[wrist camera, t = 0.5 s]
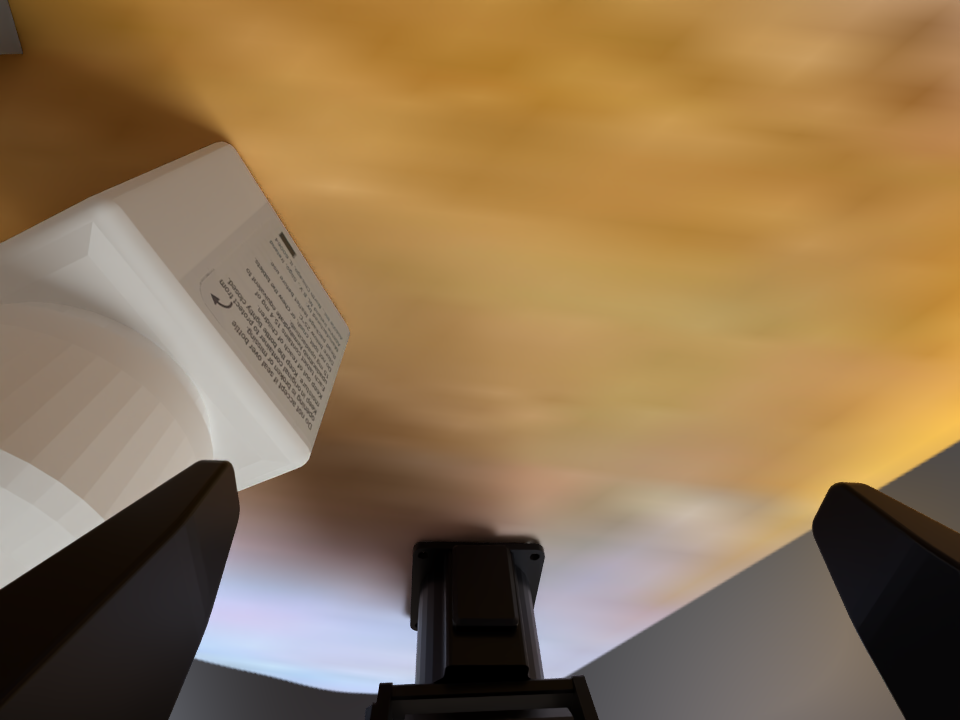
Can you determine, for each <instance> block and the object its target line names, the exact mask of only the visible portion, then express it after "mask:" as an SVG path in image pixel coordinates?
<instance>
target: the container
mask: <svg viewBox="0 0 960 720" xmlns="http://www.w3.org/2000/svg"><path fill="white" fill-rule="evenodd" d="M349 336H350V331H349V328H348V326H347V324H346V323H345V321H344V319H343V318H342V316H341V315H340V313H339V312H338V310H337V308H336V307H335V305H334V304H333V302H332V301H331V299H330V297H329V296H328V294H327V293H326V291H325V289H324V288H323V286H322V285H321V283H320V282H319V280H318V278H317V277H316V275H315V274H314V272H313V271H312V269H311V267H310V266H309V264H308V263H307V261H306V260H305V258H304V256H303V255H302V253H301V252H300V250H299V248H298V247H297V245H296V244H295V242H294V241H293V239H292V237H291V236H290V234H289V233H288V231H287V230H286V228H285V226H284V225H283V223H282V222H281V220H280V219H279V217H278V215H277V214H276V212H275V211H274V209H273V207H272V206H271V204H270V203H269V201H268V200H267V198H266V196H265V195H264V193H263V192H262V190H261V189H260V187H259V185H258V184H257V182H256V181H255V179H254V178H253V176H252V174H251V173H250V171H249V170H248V168H247V167H246V165H245V163H244V162H243V160H242V159H241V157H240V155H239V154H238V152H237V151H236V149H235V148H234V147H233V146H232V145H231V144H228V143H226V142H223V141H222V142H216V143H213V144H211V145H209V146H207V147H204V148H202V149H200V150H197V151H195V152H193V153H190V154H188V155H186V156H183V157H181V158H179V159H176V160H174V161H172V162H170V163H167V164H165V165H163V166H160V167H158V168H156V169H153V170H151V171H149V172H146V173H144V174H142V175H140V176H137V177H135V178H133V179H130V180H128V181H126V182H123V183H121V184H119V185H116V186H114V187H112V188H109V189H107V190H105V191H103V192H100V193H98V194H96V195H93V196H91V197H89V198H87V199H85V200H83V201H81V202H79V203H77V204H75V205H73V206H71V207H70V208H68V209H66V210H64V211H62V212H60V213H58V214H56V215H54V216H52V217H50V218H48V219H46V220H44V221H43V222H41V223H39V224H37V225H35V226H33V227H31V228H29V229H27V230H25V231H23V232H21V233H19V234H17V235H16V236H14V237H12V238H10V239H8V240H6V241H4V242H2V243H0V589H1V588H3V587H4V586H6V585H8V584H9V583H11V582H12V581H14V580H15V579H17V578H18V577H20V576H21V575H23V574H24V573H26V572H28V571H29V570H31V569H32V568H34V567H35V566H37V565H38V564H40V563H41V562H43V561H44V560H46V559H48V558H49V557H51V556H52V555H54V554H55V553H57V552H58V551H60V550H61V549H63V548H64V547H66V546H68V545H69V544H71V543H72V542H74V541H75V540H77V539H78V538H80V537H81V536H83V535H84V534H86V533H88V532H89V531H91V530H92V529H94V528H95V527H97V526H98V525H100V524H101V523H103V522H104V521H106V520H108V519H109V518H111V517H112V516H114V515H115V514H117V513H118V512H120V511H121V510H123V509H124V508H126V507H127V506H129V505H131V504H132V503H134V502H135V501H137V500H138V499H140V498H141V497H143V496H144V495H146V494H147V493H149V492H151V491H152V490H154V489H155V488H157V487H158V486H160V485H161V484H163V483H164V482H166V481H167V480H169V479H171V478H172V477H174V476H175V475H177V474H178V473H180V472H181V471H183V470H184V469H186V468H187V467H189V466H191V465H192V464H194V463H195V462H197V461H200V460H226V461H229V462H230V463H232V465H233V468H234V472H235V478H236V485H237V491H241V490H243V489H246V488H248V487H251V486H254V485H256V484H259V483H261V482H264V481H266V480H269V479H271V478H274V477H277V476H279V475H282V474H284V473H287V472H289V471H292V470H294V469H297V468H300V467H301V466H303V465H304V464H305V463H306V462H307V461H308V460H309V458H310V455H311V452H312V448H313V445H314V442H315V439H316V436H317V433H318V430H319V427H320V424H321V421H322V418H323V415H324V412H325V409H326V406H327V403H328V400H329V397H330V394H331V391H332V388H333V384H334V381H335V378H336V375H337V372H338V369H339V366H340V363H341V360H342V357H343V354H344V351H345V348H346V345H347V342H348V339H349Z"/></svg>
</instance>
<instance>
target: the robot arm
mask: <svg viewBox="0 0 960 720" xmlns="http://www.w3.org/2000/svg"><path fill="white" fill-rule="evenodd" d="M239 512H240V505H239V498H238V491H237V485H236V478H235V472H234V468H233V465H232V463H230V462H229V461H226V460H200V461H197V462H195V463H194V464H192V465H191V466H189V467H187V468H186V469H184V470H183V471H181V472H180V473H178V474H177V475H175V476H174V477H172V478H171V479H169V480H167V481H166V482H164V483H163V484H161V485H160V486H158V487H157V488H155V489H154V490H152V491H151V492H149V493H147V494H146V495H144V496H143V497H141V498H140V499H138V500H137V501H135V502H134V503H132V504H131V505H129V506H127V507H126V508H124V509H123V510H121V511H120V512H118V513H117V514H115V515H114V516H112V517H111V518H109V519H108V520H106V521H104V522H103V523H101V524H100V525H98V526H97V527H95V528H94V529H92V530H91V531H89V532H88V533H86V534H84V535H83V536H81V537H80V538H78V539H77V540H75V541H74V542H72V543H71V544H69V545H68V546H66V547H64V548H63V549H61V550H60V551H58V552H57V553H55V554H54V555H52V556H51V557H49V558H48V559H46V560H44V561H43V562H41V563H40V564H38V565H37V566H35V567H34V568H32V569H31V570H29V571H28V572H26V573H24V574H23V575H21V576H20V577H18V578H17V579H15V580H14V581H12V582H11V583H9V584H8V585H6V586H4V587H3V588H1V589H0V720H168V719H169V717H170V714H171V712H172V710H173V707H174V705H175V702H176V700H177V698H178V695H179V693H180V690H181V688H182V686H183V683H184V681H185V679H186V676H187V674H188V671H189V669H190V666H191V664H192V662H193V659H194V657H195V655H196V652H197V650H198V647H199V645H200V643H201V640H202V637H203V635H204V632H205V630H206V627H207V624H208V621H209V618H210V615H211V612H212V608H213V605H214V602H215V598H216V595H217V592H218V588H219V585H220V581H221V578H222V574H223V571H224V568H225V564H226V561H227V557H228V554H229V551H230V547H231V544H232V540H233V537H234V534H235V530H236V527H237V523H238V519H239ZM812 531H813V536H814V538H815V541H816V543H817V545H818V547H819V549H820V552H821V554H822V556H823V559H824V561H825V563H826V565H827V568H828V570H829V572H830V574H831V576H832V579H833V581H834V583H835V586H836V588H837V590H838V592H839V594H840V597H841V599H842V601H843V603H844V606H845V608H846V610H847V612H848V615H849V617H850V619H851V621H852V623H853V625H854V627H855V629H856V631H857V633H858V635H859V637H860V639H861V641H862V643H863V644H864V646H865V648H866V650H867V652H868V654H869V655H870V657H871V659H872V661H873V663H874V664H875V666H876V668H877V670H878V672H879V673H880V675H881V677H882V679H883V680H884V682H885V684H886V686H887V688H888V690H889V691H890V693H891V695H892V697H893V698H894V700H895V702H896V704H897V706H898V707H899V709H900V711H901V713H902V715H903V716H904V718H905V720H960V533H958V532H956V531H954V530H952V529H950V528H948V527H946V526H945V525H943V524H941V523H939V522H937V521H935V520H933V519H931V518H929V517H927V516H925V515H924V514H922V513H920V512H918V511H916V510H914V509H912V508H910V507H908V506H906V505H904V504H902V503H901V502H899V501H897V500H895V499H893V498H891V497H889V496H887V495H885V494H883V493H882V492H880V491H878V490H876V489H874V488H872V487H870V486H868V485H866V484H862V483H848V482H839V483H835V484H834V485H832V486H831V487H830V489H829V490H828V492H827V494H826V496H825V498H824V500H823V502H822V504H821V506H820V508H819V510H818V512H817V514H816V515H815V517H814V520H813V524H812ZM534 553H536V554H534ZM544 558H545V554H544V549H543V547H542V546H541V545H539V544H535V543H475V542H419V543H417V544H416V545H415V546H414V548H413V566H412V593H411V620H410V626H411V628H412V629H413V630H415V631H418V633H417V654H416V675H415V684H404V685H393V683H380V684H379V690H378V697H377V702H376V703H373V704H372V705H371V706H370V707H368V708H366V714H365V720H599V719H598V716H597V713H596V710H595V707H594V704H593V701H592V698H591V695H590V692H589V689H588V686H587V683H586V680H585V677H584V675H571V678H556V679H544V674H543V668H542V662H541V655H540V649H539V642H538V636H537V629H536V623H535V617H534V610H533V609H534V605H535V600H536V595H537V591H538V586H539V581H540V577H541V572H542V567H543V563H544Z"/></svg>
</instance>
